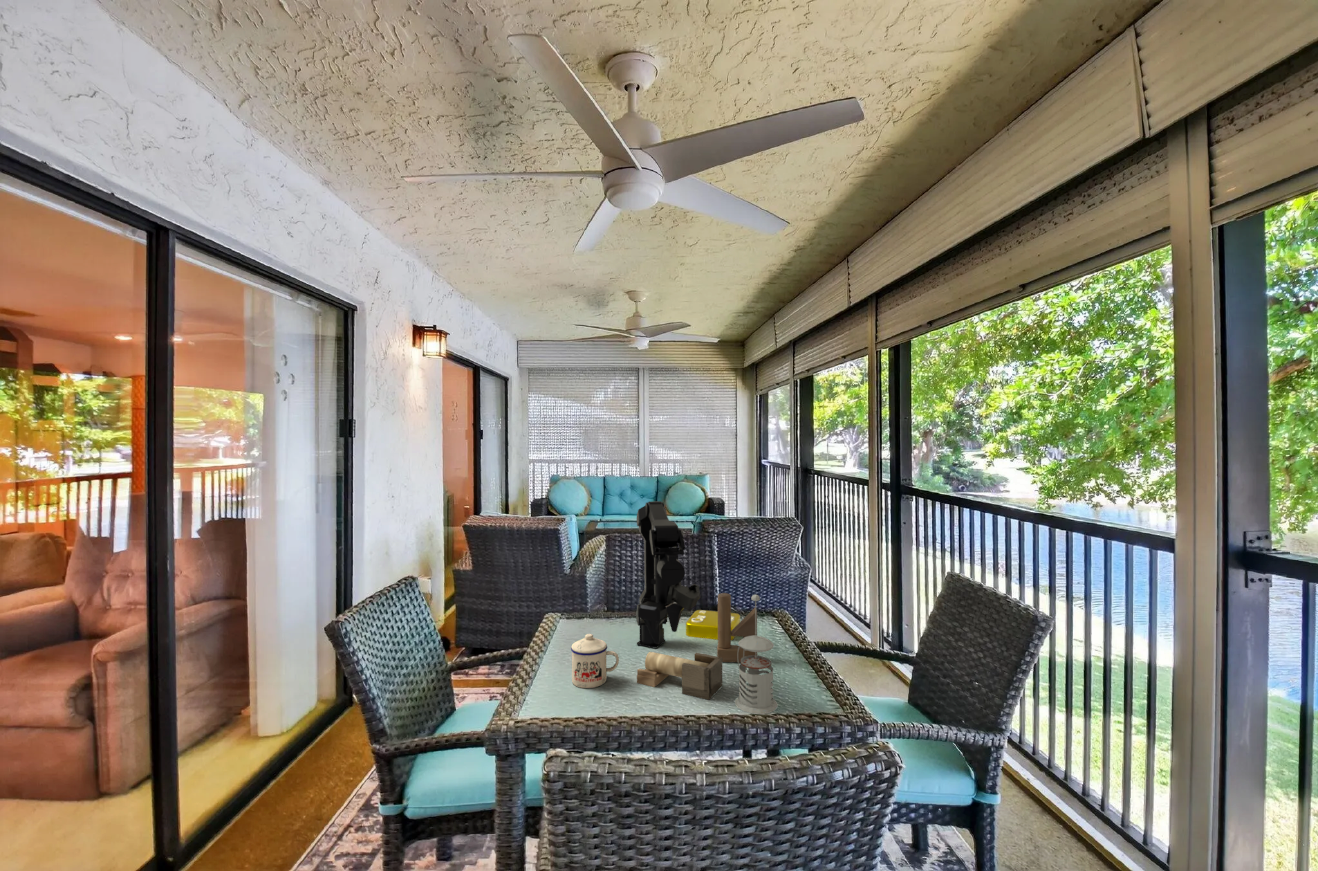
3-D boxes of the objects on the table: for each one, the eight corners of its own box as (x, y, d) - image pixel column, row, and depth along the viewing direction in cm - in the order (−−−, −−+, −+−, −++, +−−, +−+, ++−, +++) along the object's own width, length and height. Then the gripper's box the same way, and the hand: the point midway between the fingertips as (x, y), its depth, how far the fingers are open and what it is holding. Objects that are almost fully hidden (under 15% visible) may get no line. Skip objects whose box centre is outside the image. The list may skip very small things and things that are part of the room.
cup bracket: (682, 693, 134) (681, 664, 134) (696, 680, 142) (696, 652, 142) (708, 700, 131) (708, 669, 131) (722, 685, 138) (722, 657, 138)
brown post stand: (757, 663, 152) (757, 596, 152) (717, 662, 153) (717, 596, 153) (756, 658, 156) (755, 593, 156) (717, 657, 156) (716, 592, 157)
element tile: (732, 642, 168) (732, 626, 169) (684, 637, 173) (684, 621, 173) (741, 626, 183) (740, 611, 183) (696, 622, 187) (696, 607, 187)
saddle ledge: (636, 682, 140) (636, 670, 140) (653, 670, 147) (653, 658, 148) (654, 687, 138) (654, 674, 138) (670, 674, 145) (670, 661, 145)
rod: (644, 672, 141) (645, 654, 142) (653, 667, 145) (653, 649, 146) (702, 685, 134) (703, 666, 134) (710, 679, 138) (710, 661, 138)
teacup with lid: (569, 689, 137) (569, 641, 137) (572, 673, 146) (572, 629, 146) (618, 688, 137) (618, 640, 137) (619, 672, 146) (619, 627, 146)
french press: (749, 717, 123) (749, 602, 123) (722, 695, 133) (722, 589, 133) (786, 708, 127) (786, 597, 127) (757, 687, 137) (757, 585, 137)
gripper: (677, 587, 129) (678, 655, 129) (709, 570, 145) (710, 630, 145) (636, 581, 134) (636, 647, 134) (671, 566, 151) (672, 624, 150)
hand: (665, 637), depth 141 cm, fingers open, 9 cm apart
